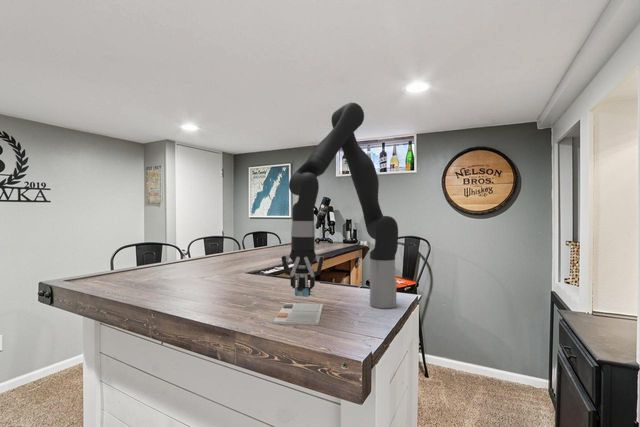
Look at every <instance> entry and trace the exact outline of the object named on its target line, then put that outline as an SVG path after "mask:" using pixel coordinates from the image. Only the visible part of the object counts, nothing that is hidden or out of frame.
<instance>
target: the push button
mask: <svg viewBox="0 0 640 427" xmlns="http://www.w3.org/2000/svg"><path fill="white" fill-rule="evenodd" d="M295 274H296V287H295V288H294V296H295V297H303V298H304V297H305V298H308V297H310V296H314V293H315V291H312V289H310V284H309V274H310V273H309V270H308V268H307V267H306V265H298V266H297V268H296V271H295ZM311 293H313V294H311Z"/></svg>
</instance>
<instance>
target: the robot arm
mask: <svg viewBox="0 0 640 427" xmlns="http://www.w3.org/2000/svg"><path fill="white" fill-rule="evenodd" d="M330 120H331V126H332V130H331V131H330V132H329V133H328V134H327V135H326V136H325V137H324V138H323V139H322V140H321V141H320V142H319V143H318V144H317V146H316V147H314V150H313V151H312V152H311V154H310V155H309V157H308V158H307V160H306V161H305V162H304V163H303V164H302V165H301V166H300V167H298V169H297V170H296V171H295V172H294V173H293V175H291V177H290V179H289V182H288V189H289V191H290V192H291V193H292V194H293V195H294V196H298V200H297V201H296V203H294V204H293V206H292V209H291V210H292V211H291V212H292V215H291V216H292V217H291V220H292V221H291V222H292V223H291V229H290V230H291V231H290V232H291V233H290V235H291V236H290V241H291V242H290V243H291V244H290V245H291V246H290V249H291V250H290V253H289V254H286V255H284V254H283V255H282V256H281V262H282V267H283V272H284V274H285V275H287V276H289V277H290V287H292V289H295V288H296V287H297V286H296V285H297V275H296V273H295V271H296V268H297V266H298V265H306V267H307V268H308V270H309V273H308V274H309V275H310V277H309V287H310V289H311V290H313V288H314V287H315V286H316V277H317V276H320V275H321V271H322V269H323V268H322V267H323V265H324V264H323V263H324V259H325V256H323V255H318V254H316V251H315V247H316V245H315V243H316V242H315V236H316V234H315V232H316V228H315V206H316V203H317V198H318V194H319V188H320V187H319V186H320V185H319V180H318V177H320V176H321V175H323V174H324V173H325V172H326V170H327V169H328V168H329V166H330V165H331V163H332V162H333V160H334V158H335V157H336V155H337V154H338V152H339V151H340V150H342V152H343V156H344V158H345V161H346V163H347V167H348V170H349V174H350V177H351V180H352V183H353V186H354V189H355V191H356V194H357V197H358V201H359V203H360V207H361V210H362V214H363V220H364V225H365V230H366V233H367V234H368V235H369V237H370V238H371V239H373V240H374V248H373V249H371V251H370V252H369V305H370V306H371V307H373V308H376V309H393V308H394V309H395V308H397V281H396V256H397V255H396V254H397V251H398V247H399V246H398V245H399V244H398V243H399V228H398V227H399V226H398V223H397V220H396V219H394V218H393V217H392V216H389V215H384V214H383V212H382V208H381V207H380V202H379V191H380V190H379V187H380V184H379V176H378V174H377V173H378V172H377V170H376V167H375V163H374V162H373V160H372V159H371V157H370V156H369V155H368V154H367V153H366V152H365V151H364V150H363V149H362V147H361V146H360V144H359V143H358V141H357V138H356V135H355V131H357V130H358V129H359V128H360V126H361V125H362V124H363V122H364V120H365V113H364V109H363V107H362V106H361V105H360V104H358V103H356V102H349V103H346V104H343V105H342V106H340V107H339V108H338V109H337V110H335V111H334V112H333V114H332V115H331V118H330ZM290 260H291V261H292V263H293V265H292V268H291V269H290V267H289V261H290ZM315 260H316V262H317V263H318V264H317V268H316V271H315V270H314V266H313V264H312V263H313V262H314V261H315Z"/></svg>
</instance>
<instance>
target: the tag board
mask: <svg viewBox="0 0 640 427" xmlns="http://www.w3.org/2000/svg"><path fill="white" fill-rule="evenodd" d="M323 307H324V304H323V303H305V302H304V303H302V302H301V303H298V302H296V303H293V302H291V303H290V302H285V303H284V304H283V306H282V308H281V309H280V311H279V312H278V313H277V315H276V317H275V318H274V319H273V321H272V324H273V325H295V326H296V325H300V326H301V325H304V326H320V320H321V316H322V313H323Z"/></svg>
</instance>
